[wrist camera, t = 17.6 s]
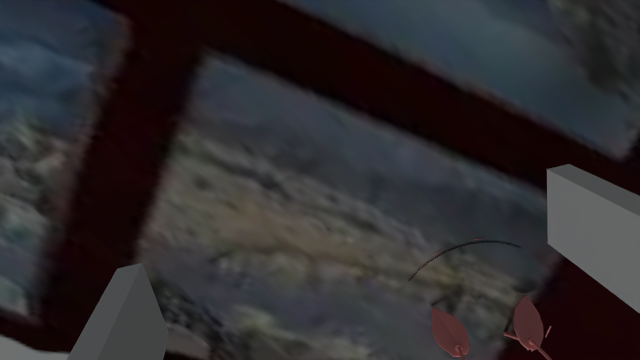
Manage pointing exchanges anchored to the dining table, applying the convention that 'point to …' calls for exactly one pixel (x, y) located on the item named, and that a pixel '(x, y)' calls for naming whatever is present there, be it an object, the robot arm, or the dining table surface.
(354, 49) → the dining table surface
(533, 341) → the figurine
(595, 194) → the robot arm
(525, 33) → the dining table surface
